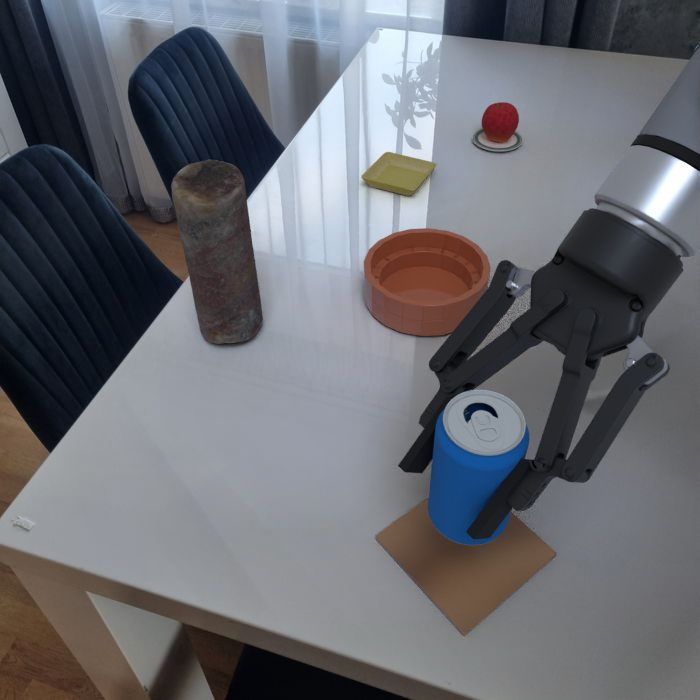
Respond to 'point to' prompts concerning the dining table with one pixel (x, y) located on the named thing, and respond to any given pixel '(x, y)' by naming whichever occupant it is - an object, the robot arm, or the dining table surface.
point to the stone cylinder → (218, 250)
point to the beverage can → (473, 460)
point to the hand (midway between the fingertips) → (443, 500)
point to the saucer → (398, 173)
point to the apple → (499, 128)
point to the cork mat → (464, 565)
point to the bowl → (424, 280)
